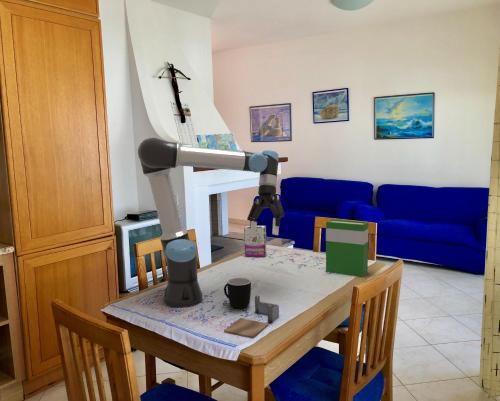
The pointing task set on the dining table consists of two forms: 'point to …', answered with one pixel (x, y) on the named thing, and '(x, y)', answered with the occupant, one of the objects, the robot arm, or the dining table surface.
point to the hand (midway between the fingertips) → (263, 235)
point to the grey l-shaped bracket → (267, 309)
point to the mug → (238, 292)
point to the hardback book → (347, 247)
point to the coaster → (246, 328)
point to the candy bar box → (255, 242)
